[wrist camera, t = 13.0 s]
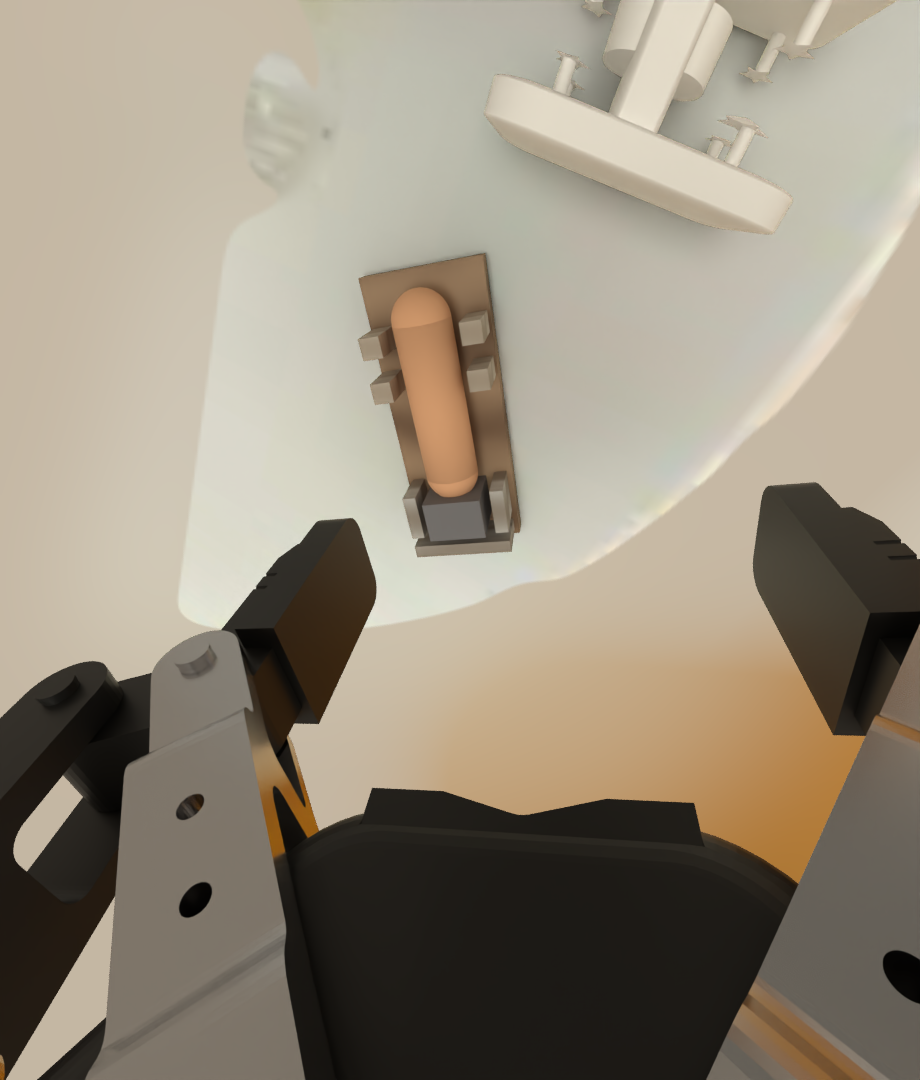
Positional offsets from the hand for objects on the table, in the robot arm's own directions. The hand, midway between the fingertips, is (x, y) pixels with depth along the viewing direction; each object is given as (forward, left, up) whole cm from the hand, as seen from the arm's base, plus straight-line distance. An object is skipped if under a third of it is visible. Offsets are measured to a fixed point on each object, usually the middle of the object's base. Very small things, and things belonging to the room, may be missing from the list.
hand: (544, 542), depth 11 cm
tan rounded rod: (+6, -8, -29) cm, 30 cm away
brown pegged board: (+7, -9, -30) cm, 32 cm away
